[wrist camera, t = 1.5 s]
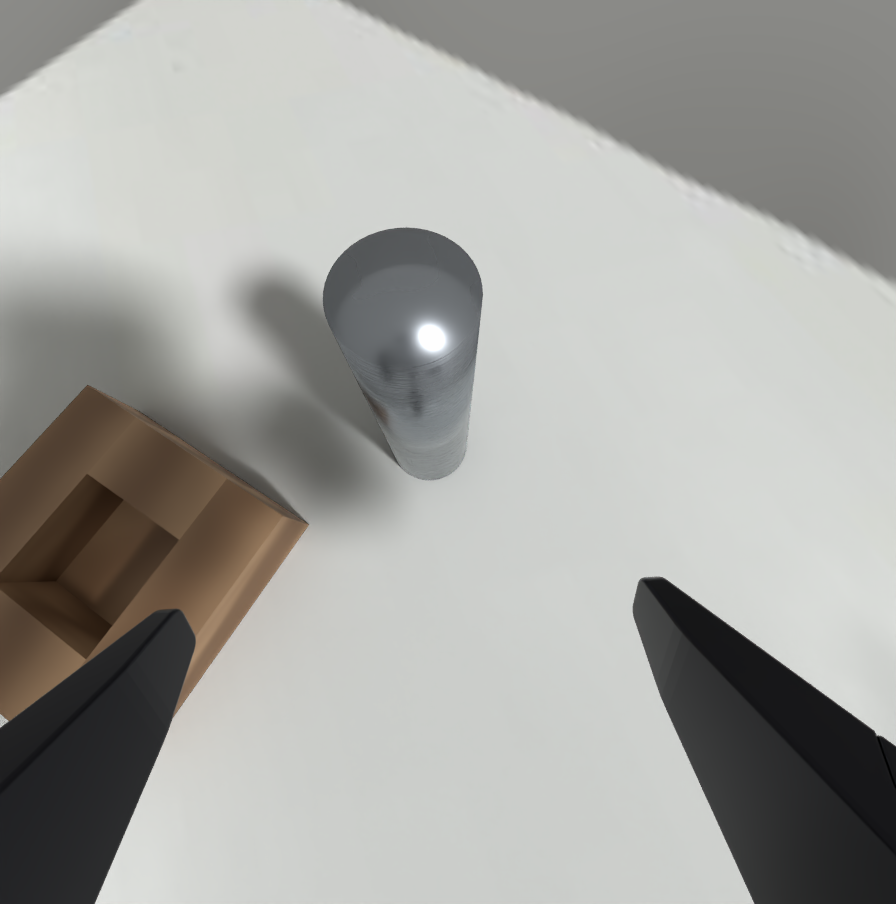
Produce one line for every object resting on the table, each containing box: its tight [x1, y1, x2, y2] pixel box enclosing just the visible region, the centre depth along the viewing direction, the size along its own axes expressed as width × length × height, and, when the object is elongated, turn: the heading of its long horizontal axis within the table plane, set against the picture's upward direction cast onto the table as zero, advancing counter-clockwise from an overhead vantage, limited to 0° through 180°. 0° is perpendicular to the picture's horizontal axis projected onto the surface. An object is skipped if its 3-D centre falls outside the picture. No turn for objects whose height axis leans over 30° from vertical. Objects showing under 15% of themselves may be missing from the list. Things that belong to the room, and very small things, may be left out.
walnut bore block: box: [0, 385, 309, 721], centre depth 20 cm, size 12×12×4 cm
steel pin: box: [323, 228, 483, 480], centre depth 17 cm, size 4×4×13 cm
